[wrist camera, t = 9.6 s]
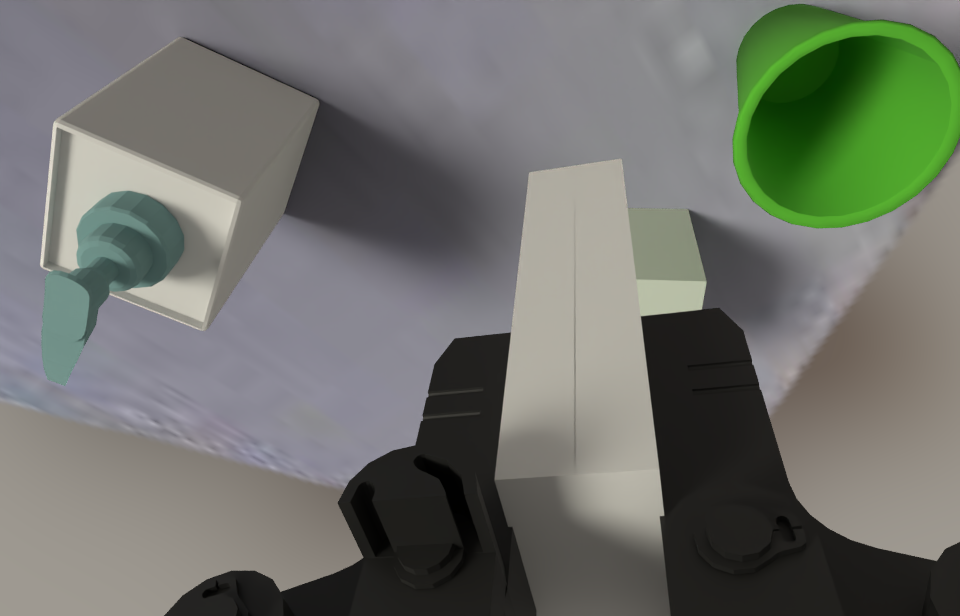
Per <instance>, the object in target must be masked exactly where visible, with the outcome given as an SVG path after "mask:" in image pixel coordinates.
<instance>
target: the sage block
mask: <svg viewBox="0 0 960 616" xmlns="http://www.w3.org/2000/svg"><path fill="white" fill-rule="evenodd" d="M628 216H629V224H630V232H631V241H632V249H633V257H634V265H635V274H636V282H637V290H638V298H639V307H640V315H641V316H648V315H657V314H666V313H676V312H685V311H694V310H702V306H703V300H704V294H705V288H706V282H707V281H706V277H705V273H704V269H703V265H702V261H701V257H700V254H699V250H698V246H697V242H696V238H695V234H694V230H693V226H692V222H691V219H690V215H689V211H688V209H648V208H628Z"/></svg>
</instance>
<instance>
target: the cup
mask: <svg viewBox="0 0 960 616" xmlns="http://www.w3.org/2000/svg"><path fill="white" fill-rule="evenodd" d="M736 62H737V86H738V106H739V114H738V117H737V122H736V126H735V130H734V135H733V163H734V166H735V169H736V172H737V175H738V178H739V181H740V184H741V185H742V186H743V188H744V189H745V191H746V192H747V193H748V195H749V196H750V198H751V199H752V201H753V202H755V203H756V204H757V205H759V206H760V207H761V208H762V209H764V210H765V211H766V212H767V213H769V214H770V215H772V216H774V217H777V218H779V219H781V220H784V221H786V222H788V223H791V224H795V225H801V226H807V227H813V228H839V227H846V226H850V225H855V224H859V223H863V222H868V221H870V220H873V219H875V218H877V217H880V216H882V215H884V214H887V213H889V212H891V211H893V210H895V209H896V208H898V207H900V206H901V205H903V204H904V203H906V202H907V201H909V200H910V199H912V198H913V197H915V196H916V195H917V194H918V193H920V192H921V191H922V190H923V189H924V188H925V187H926V186H927V185H928V184H929V183H930V182H931V181H932V180H933V179H934V178H935V177H936V176H937V175H938V174H939V172H940V171H941V169H942V168H943V167H944V165H945V164H946V162H947V161H948V160H949V158H950V157H951V155H952V154H953V152H954V149H955V147H956V145H957V142H958V140H959V137H960V67H959V65H958V63H957V61H956V59H955V57H954V55H953V54H952V53H951V52H950V51H949V50H948V49H947V48H946V47H945V46H944V45H943V44H942V43H941V42H940V41H939V40H938V39H937V38H936V37H935V36H933V35H931V34H929V33H927V32H925V31H923V30H921V29H919V28H917V27H915V26H913V25H910V24H905V23H899V22H893V21H887V20H870V21H863V20H860V19H857V18H853V17H850V16H846V15H843V14H840V13H836V12H833V11H829V10H826V9H823V8H819V7H816V6H811V5H805V4H795V5H787V6H784V7H781V8H778V9H775V10H773V11H771V12H770V13H768V14H766V15H764V16H763V17H762V18H761V19H759V20H758V21H757V22H756V23H755V24H754V25H753V26H752V27H751V28H750V30H749V31H748V32H747V34H746V35H745V36H744V39H743V41H742V43H741V45H740V47H739V51H738V55H737V60H736Z"/></svg>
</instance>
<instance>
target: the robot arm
mask: <svg viewBox="0 0 960 616" xmlns="http://www.w3.org/2000/svg"><path fill="white" fill-rule="evenodd" d="M428 394H429V397H427V399H426V403H425V407H424V411H423V421H421V424H420V428H419V432H418V437H417V441H416V445H415V446H411V447H407V448H402V449H398V450H393V451H391V452H389V453H387V454H385V455H383V456H382V457H380V458H378V459H376V460H374V461H372V462H370V463H368V464H367V465H366V466H365V467H364V468H363V469H362V470H361V471H360V472H359V473H358V474H357V475H356V476H355V477H353V478H352V479H351V480H350V481H349V483H348V485H347V487H346V488H345V490H344V492H343V494H342V496H341V498H340V500H339V501H338V505H339V507H340V509H341V511H342V513H343V515H344V517H345V519H346V521H347V523H348V525H349V528H350V530H351V532H352V534H353V536H354V538H355V540H356V542H357V544H358V547H359V549H360V551H361V553H362V555H363V557H364V558H363V559H361V560H360V561H358V562H357V563H355V564H354V565H352V566H350V567H348V568H345V569H343V570H341V571H339V572H336V573H334V574H331V575H329V576H325V577H323V578H320V579H317V580H314V581H311V582H308V583H305V584H302V585H299V586H297V587H294V588H291V589H288V590H285V591H282V592H280V591H279V589H278V587H277V586H276V584H275V583H274V581H273V579H271V578H269V577H267V576H265V575H263V574H261V573H258V572H256V571H230V572H227V573H224V574H221V575H218V576H215V577H213V578H210V579H207V580H205V581H204V582H202V583H201V584H199V585H198V586H196V587H195V588H193V589H192V590H190V591H189V592H188V593H186V594H185V595H183V596H182V597H181V598H180V599H179V600H178V601H177V603H175V605H174V606H173V607H172V608H171V609H170V610H169V611H168V612H167V613H166V614H165V615H164V616H960V542H959V543H957V544H955V545H953V546H951V547H948V548H946V549H945V550H944V552H943V553H942V555H941V556H940V558H939V559H938V560H937V561H933V560H929V559H924V558H919V557H915V556H910V555H906V554H901V553H896V552H892V551H888V550H883V549H878V548H875V547H871V546H868V545H865V544H862V543H858V542H855V541H852V540H850V539H847V538H846V537H844V536H842V535H840V534H838V533H836V532H834V531H832V530H830V529H828V528H827V527H825V526H824V525H823V524H822V523H820V522H819V521H818V520H816V519H815V518H814V517H812V516H811V515H810V514H809V513H808V512H807V510H806V509H805V508H804V507H803V506H802V505H801V503H800V502H799V501H798V500H797V499H796V496H795V494H794V492H793V490H792V488H791V486H790V484H789V481H788V478H787V475H786V471H785V468H784V465H783V461H782V458H781V455H780V451H779V448H778V445H777V442H776V438H775V435H774V432H773V428H772V425H771V422H770V418H769V415H768V412H767V408H766V405H765V402H764V398H763V395H762V392H761V390H760V388H759V382H758V379H757V375H756V372H755V369H754V365H752V359H751V355H750V352H749V349H748V345H747V342H746V339H745V335H744V332H743V330H742V329H741V328H740V327H739V326H738V325H737V324H735V323H734V322H733V321H732V320H731V319H730V318H729V317H728V316H727V315H726V314H725V313H724V312H723V311H722V310H721V309H720V308H713V309H704V310H694V311H685V312H676V313H666V314H657V315H648V316H641V315H640V307H639V298H638V290H637V282H636V274H635V265H634V257H633V249H632V241H631V232H630V224H629V216H628V208H627V199H626V191H625V183H624V175H623V166H622V159H616V160H609V161H602V162H596V163H589V164H582V165H576V166H569V167H563V168H556V169H549V170H543V171H536V172H529V179H528V188H527V197H526V206H525V215H524V223H523V232H522V241H521V250H520V259H519V267H518V276H517V285H516V294H515V303H514V312H513V320H512V329H511V333H503V334H493V335H484V336H474V337H465V338H456V339H454V340H453V341H452V343H451V344H450V345H449V347H448V348H447V349H446V350H445V352H444V353H443V354H442V355H441V357H440V358H439V359H438V360H437V362H436V363H435V365H434V369H433V373H432V377H431V382H430V386H429V390H428Z"/></svg>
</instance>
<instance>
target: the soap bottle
mask: <svg viewBox="0 0 960 616" xmlns="http://www.w3.org/2000/svg"><path fill="white" fill-rule="evenodd" d="M318 107H319V100H317V99H316V98H313V97H311V96H309V95H307V94H305V93H302V92H300V91H298V90H296V89H294V88H292V87H289V86H287V85H285V84H283V83H281V82H278V81H276V80H274V79H272V78H270V77H268V76H265V75H263V74H261V73H259V72H257V71H254V70H252V69H250V68H248V67H246V66H243V65H241V64H239V63H237V62H235V61H233V60H230V59H228V58H226V57H224V56H222V55H219V54H217V53H215V52H213V51H211V50H209V49H206V48H204V47H202V46H200V45H198V44H195V43H193V42H191V41H189V40H187V39H185V38H182V37H178V38H177V39H175V40H174V41H172V42H171V43H169V44H168V45H166V46H165V47H163V48H162V49H160V50H159V51H157V52H156V53H154V54H153V55H151V56H150V57H148V58H147V59H145V60H144V61H142V62H141V63H139V64H138V65H136V66H135V67H133V68H132V69H131V70H129V71H128V72H126V73H125V74H123V75H122V76H120V77H119V78H117V79H116V80H114V81H113V82H111V83H110V84H108V85H107V86H105V87H104V88H102V89H101V90H99V91H98V92H96V93H95V94H93V95H92V96H90V97H89V98H87V99H86V100H84V101H83V102H81V103H80V104H78V105H77V106H75V107H74V108H72V109H71V110H69V111H68V112H66V113H65V114H63V115H62V116H60V117H59V118H57V119H56V120H55V122H54V124H53V134H52V144H51V155H50V166H49V176H48V187H47V198H46V208H45V219H44V230H43V240H42V251H41V261H40V265H41V267H42V268H43V269H46V270H48V271H51V272H49V273H48V275H47V276H46V279H45V297H44V308H43V315H42V318H43V326H42V331H41V332H42V359H43V366H44V370H45V373H46V376H47V379H48V380H50V381H53V382H56V383H59V384H61V385H64V386H65V385H66V383H67V381H68V378H69V376H70V374H71V372H72V370H73V368H74V366H75V364H76V362H77V360H78V358H79V356H80V354H81V351H82V349H83V347H84V345H85V344H86V342H87V340H88V338H89V336H90V335H91V333H92V331H93V329H94V327H95V325H96V321H97V314H98V308H99V307H100V306H101V305H102V304H103V302H104V301H105V300H106V299H107V298H108V296H109V295H112V296H114V297H117V298H119V299H122V300H124V301H127V302H130V303H132V304H135V305H137V306H140V307H142V308H145V309H147V310H150V311H152V312H155V313H158V314H160V315H163V316H165V317H168V318H170V319H173V320H175V321H178V322H180V323H183V324H185V325H188V326H191V327H193V328H196V329H198V330H201V331H205V330H207V329H208V328H209V326H210V325H211V323H212V322H213V320H214V319H215V317H216V316H217V314H218V313H219V311H220V310H221V308H222V307H223V305H224V304H225V302H226V301H227V299H228V298H229V296H230V295H231V293H232V291H233V290H234V288H235V287H236V285H237V284H238V282H239V281H240V279H241V278H242V276H243V275H244V273H245V272H246V270H247V269H248V267H249V266H250V264H251V263H252V261H253V260H254V258H255V257H256V255H257V253H258V252H259V250H260V249H261V247H262V246H263V244H264V243H265V241H266V240H267V238H268V237H269V235H270V234H271V232H272V231H273V229H274V228H275V226H276V225H277V223H278V222H279V220H280V219H281V217H282V215H283V214H284V212H285V209H286V205H287V202H288V199H289V196H290V193H291V190H292V187H293V184H294V181H295V178H296V175H297V172H298V169H299V166H300V162H301V159H302V156H303V153H304V150H305V147H306V144H307V141H308V138H309V135H310V132H311V129H312V126H313V123H314V120H315V116H316V113H317V110H318Z"/></svg>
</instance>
